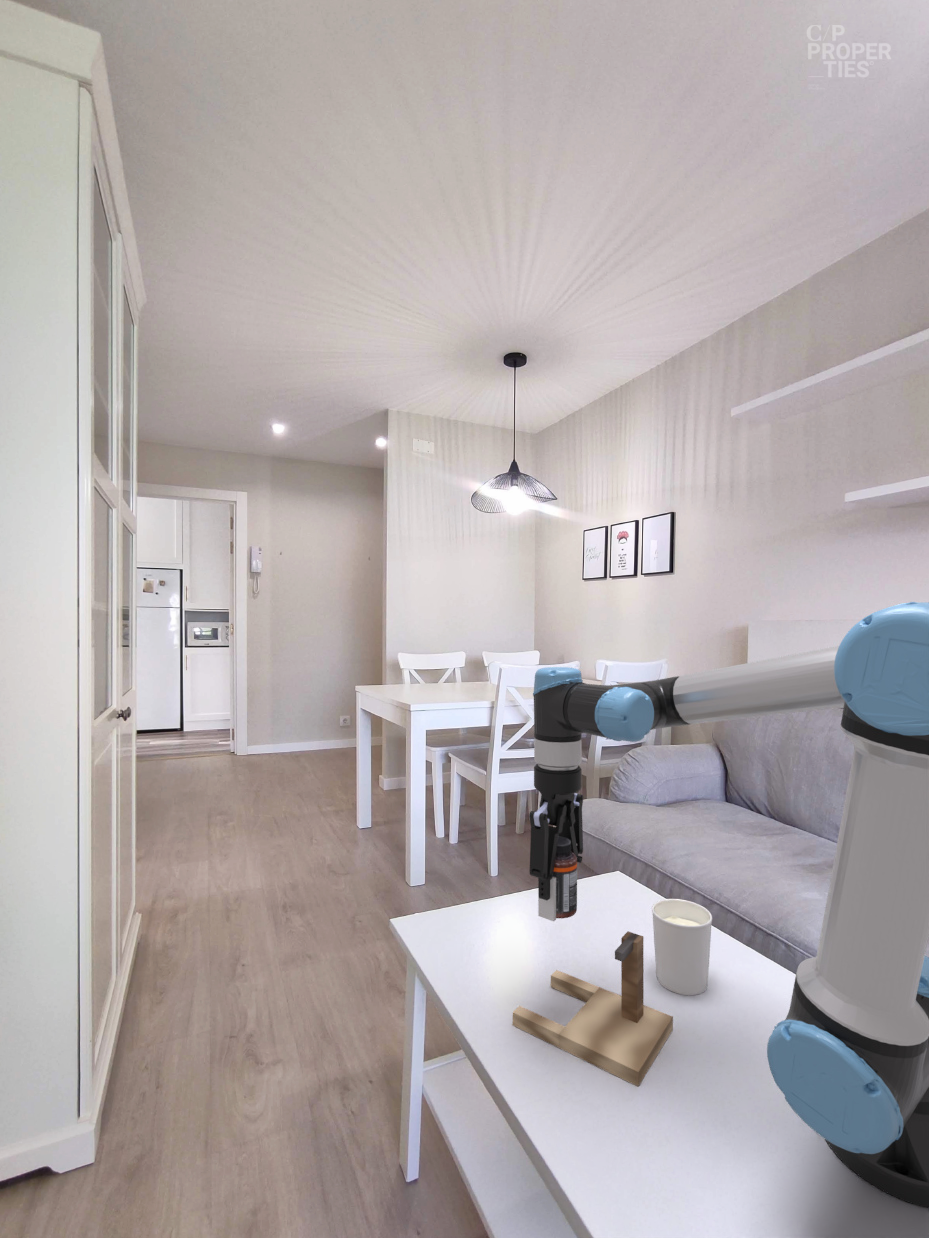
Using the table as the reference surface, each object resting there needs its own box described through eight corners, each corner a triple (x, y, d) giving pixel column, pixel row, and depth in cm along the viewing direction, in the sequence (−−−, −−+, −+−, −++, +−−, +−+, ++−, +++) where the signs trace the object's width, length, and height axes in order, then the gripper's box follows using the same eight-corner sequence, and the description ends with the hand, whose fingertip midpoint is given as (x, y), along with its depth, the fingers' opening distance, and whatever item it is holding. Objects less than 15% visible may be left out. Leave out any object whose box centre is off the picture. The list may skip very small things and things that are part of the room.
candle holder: (717, 1002, 98) (717, 929, 98) (655, 994, 100) (655, 923, 100) (706, 968, 107) (706, 901, 107) (649, 961, 109) (649, 896, 109)
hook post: (643, 1014, 92) (643, 936, 92) (627, 1037, 87) (626, 955, 87) (627, 1008, 93) (627, 931, 93) (610, 1030, 88) (610, 949, 88)
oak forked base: (672, 1029, 91) (672, 1016, 91) (638, 1086, 80) (638, 1071, 80) (556, 981, 103) (556, 969, 103) (512, 1025, 92) (512, 1012, 92)
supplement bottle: (531, 910, 96) (531, 839, 96) (555, 898, 100) (555, 830, 100) (561, 924, 91) (561, 850, 91) (584, 911, 95) (584, 840, 95)
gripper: (564, 750, 105) (564, 882, 105) (505, 773, 90) (505, 926, 90) (604, 756, 101) (604, 894, 101) (548, 781, 86) (548, 942, 86)
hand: (557, 909), depth 95 cm, fingers closed on supplement bottle, 6 cm apart
